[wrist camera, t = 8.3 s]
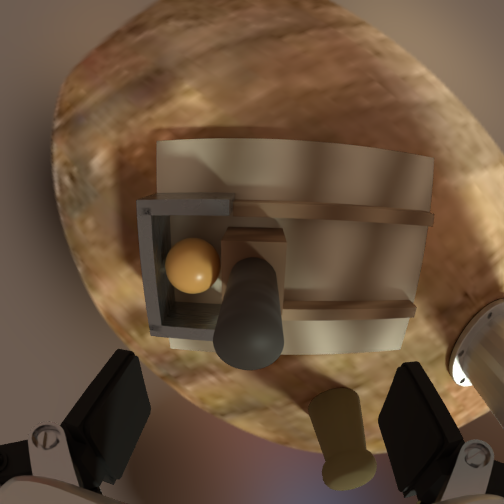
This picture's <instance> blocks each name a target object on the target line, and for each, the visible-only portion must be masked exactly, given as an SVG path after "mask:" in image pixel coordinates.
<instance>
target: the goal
mask: <svg viewBox="0 0 504 504" xmlns="http://www.w3.org/2000/svg"><path fill="white" fill-rule="evenodd" d="M234 200H235V193H221V192H189V193H155V194H152V195H150V196H147V197H144V198H141V199H138V200H136V205H137V223H138V237H139V249H140V260H141V270H142V278H143V287H144V295H145V302H146V309H147V316H148V322H149V328H150V334H151V336H157V337H167V338H178V339H189V340H202V341H213V335H214V331H215V327H216V324H217V320H218V316H219V312H220V309H221V305H222V304H211V303H193V302H177V301H175V291H174V286H173V285H172V283H171V282H170V281H169V279H168V277H167V274H166V270H165V261H166V257H167V254H168V252H169V250H170V249H171V231H170V215H204V216H229V215H230V214H231V212H232V210H233V202H234Z"/></svg>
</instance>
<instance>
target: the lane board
mask: <svg viewBox="0 0 504 504" xmlns="http://www.w3.org/2000/svg"><path fill="white" fill-rule="evenodd" d="M156 166H157V193H189V192H221V193H235V200H234V202H233V210H232V212H231V214H230V215H229V216H204V215H170V231H171V248H172V247H173V246H174V245H175V244H176V243H177V242H179V241H181V240H183V239H186V238H199V239H203V240H205V241H207V242H208V243H210V244H211V245H212V246H213V247H214V248H215V250H216V251H217V253H218V255H219V258H220V264H221V240H222V238H223V236H224V234H225V232H226V230H227V228H228V227H265V228H283V231H284V235H285V238H286V241H287V250H286V267H285V283H284V297H283V311H282V315H281V317H282V326H283V335H284V347H283V351H282V353H281V355H311V354H344V353H362V352H377V351H389V350H400V348H401V345H402V342H403V339H404V335H405V332H406V329H407V325H408V321H409V318H412V317H414V316H415V312H416V308H417V307H416V306H415V305H414V304H413V302H414V298H415V294H416V290H417V285H418V281H419V276H420V271H421V266H422V261H423V255H424V250H425V244H426V237H427V230H428V226H430V227H433V222H434V214H432V213H430V207H431V197H432V186H433V171H434V158H432V157H427V156H422V155H416V154H411V153H405V152H399V151H393V150H386V149H379V148H372V147H365V146H356V145H348V144H338V143H327V142H315V141H301V140H283V139H253V138H214V139H184V140H166V141H157V153H156ZM174 291H175V301H177V302H193V303H211V304H222V280H221V268H220V273H219V276H218V279H217V280H216V282H215V283H214V284H213V286H211V287H210V288H209V289H207V290H206V291H204V292H201V293H196V294H190V293H185V292H182V291H180V290H178V289H177V288H176V287H174ZM169 341H170V348H172V349H182V350H193V351H206V352H216V351H215V349H214V346H213V341H202V340H189V339H178V338H169Z"/></svg>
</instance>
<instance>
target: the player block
mask: <svg viewBox="0 0 504 504" xmlns="http://www.w3.org/2000/svg"><path fill="white" fill-rule="evenodd" d="M286 250H287V241H286V238H285V235H284V231H283V228H265V227H228V228H227V230H226V232H225V234H224V236H223V238H222V240H221V280H222V305H221V309H220V312H219V316H218V320H217V324H216V327H215V331H214V335H213V346H214V349H215V351H216V353H217V355H218V356H219V357H220V358H221V359H222V360H223V361H224V362H225V363H227V364H228V365H230V366H232V367H235V368H238V369H243V370H257V369H261V368H264V367H266V366H269V365H270V364H272V363H273V362H274V361H276V360H277V359H278V357H279V356H280V355H281V353H282V351H283V347H284V335H283V326H282V317H281V315H282V311H283V297H284V283H285V267H286Z"/></svg>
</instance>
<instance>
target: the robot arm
mask: <svg viewBox="0 0 504 504" xmlns="http://www.w3.org/2000/svg"><path fill="white" fill-rule="evenodd" d="M449 372H450V375H451V377H452V379H453V380H454V381H455V383H456V384H458V385H460V386H471V385H473V386H474V388H475V389H476V390H477V392H478V393H479V394H480V396H481V397H482V399H483V400H484V401H485V403H486V404H487V406H488V407H489V408H490V410H491V411H492V413H493V414H494V415H495V417H496V418H497V420H498V421H499V423H500V424H501V426H502V427H503V429H504V299H499V300H496V301H494V302H492V303H490V304H489V305H487V306H486V307H485V308H483V309H482V310H481V311H480V312H479V313H478V314H477V315H476V316H475V317H474V318H473V319H472V320H471V321H470V322H469V324H468V325H467V326H466V328H465V329H464V330H463V332H462V333H461V335H460V337H459V339H458V340H457V342H456V344H455V347H454V349H453V351H452V354H451V358H450V363H449ZM150 411H151V406H150V402H149V399H148V395H147V391H146V387H145V384H144V379H143V375H142V371H141V367H140V362H139V358H138V357H137V356H135V354H134V353H133V352H132V351H127V350H122V349H117V350H116V351H115V353H114V354H113V355H112V357H111V358H110V359H109V361H108V362H107V363H106V364H105V366H104V367H103V368H102V370H101V371H100V372H99V374H98V375H97V376H96V378H95V379H94V380H93V381H92V382H91V384H90V385H89V386H88V388H87V389H86V390H85V392H84V393H83V394H82V396H81V397H80V399H79V400H78V401H77V403H76V404H75V406H74V407H73V408H72V410H71V411H70V412H69V414H68V415H67V417H66V418H65V419H64V421H63V422H62V423H61V425H58V424H56V423H54V422H50V421H49V422H41V423H38V424H37V425H35V426H34V427H33V428H32V429H31V430H30V432H29V434H28V440H24V441H20V442H14V443H9V444H4V445H0V504H128V503H124V502H121V501H118V500H115V499H112V498H109V497H106V496H103V494H102V492H101V489H100V487H99V486H100V485H101V483H102V481H104V482H107V483H110V484H113V485H114V483H115V481H116V479H120V478H121V477H122V474H123V472H124V470H125V468H126V466H127V463H128V461H129V459H130V456H131V455H132V452H133V450H134V448H135V445H136V443H137V441H138V439H139V437H140V435H141V432H142V430H143V428H144V426H145V424H146V422H147V419H148V417H149V415H150ZM378 424H379V427H380V430H381V434H382V437H383V440H384V443H385V446H386V449H387V453H388V456H389V459H390V462H391V466H392V469H393V473H394V476H395V479H396V483H397V486H398V490H399V491H400V492H403V495H404V498H406V497H410V496H413V495H417V498H418V502H417V504H504V463H500V462H498V461H495V460H494V453H493V450H492V448H491V447H490V446H489V445H488V444H487V443H486V442H484V441H481V440H470V441H468V442H466V443H465V442H464V440H463V437H462V435H461V433H460V431H459V429H458V427H457V426H456V424H455V422H454V420H453V418H452V416H451V415H450V413H449V411H448V409H447V408H446V406H445V404H444V402H443V401H442V399H441V397H440V396H439V394H438V392H437V391H436V389H435V387H434V386H433V384H432V382H431V381H430V379H429V377H428V376H427V374H426V373H425V371H424V369H423V368H422V366H421V365H420V363H419V362H417V361H415V362H405V363H403V364H402V365H401V367H398V368H397V371H396V374H395V376H394V379H393V382H392V385H391V387H390V390H389V392H388V395H387V397H386V400H385V402H384V405H383V407H382V410H381V412H380V414H379V418H378Z"/></svg>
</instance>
